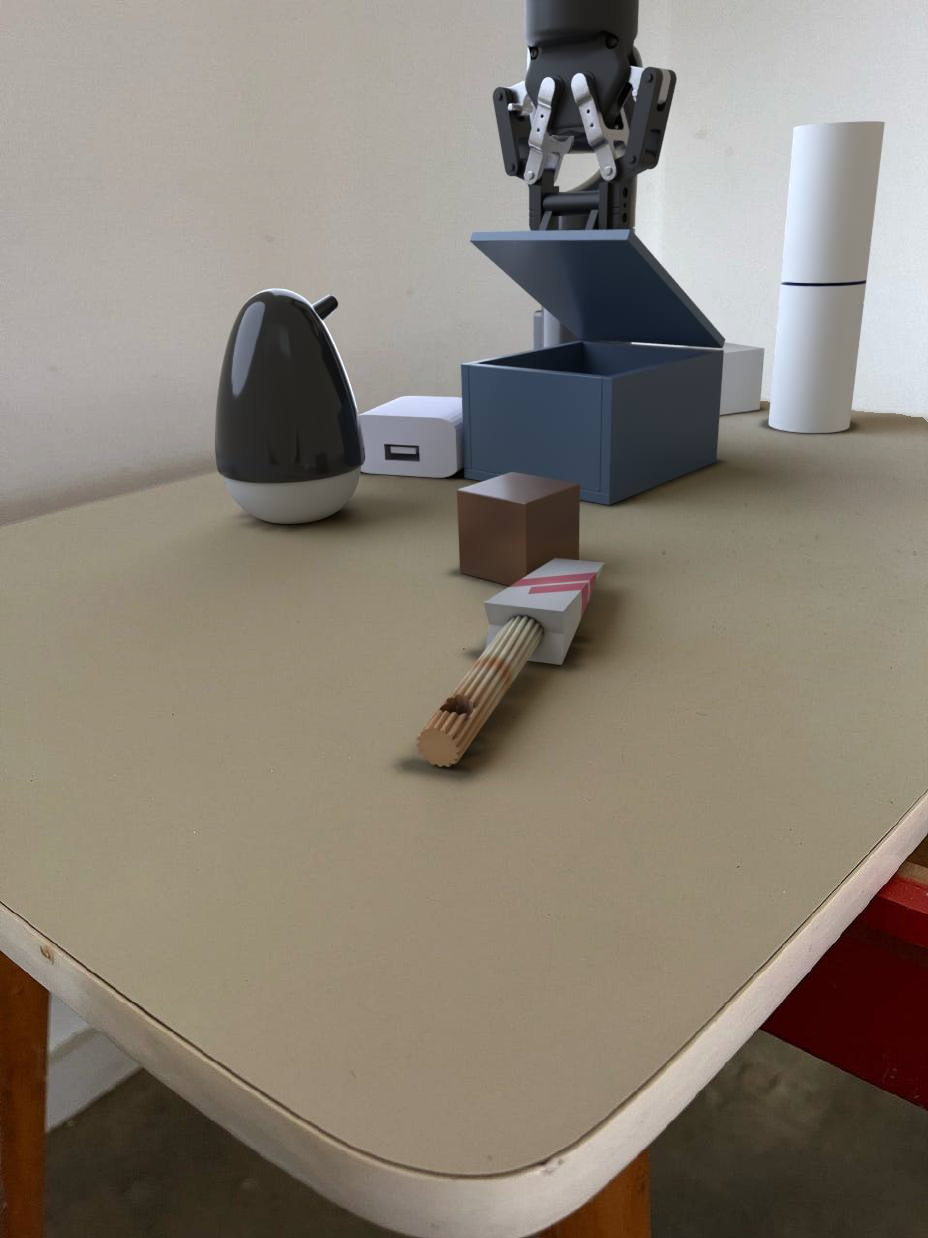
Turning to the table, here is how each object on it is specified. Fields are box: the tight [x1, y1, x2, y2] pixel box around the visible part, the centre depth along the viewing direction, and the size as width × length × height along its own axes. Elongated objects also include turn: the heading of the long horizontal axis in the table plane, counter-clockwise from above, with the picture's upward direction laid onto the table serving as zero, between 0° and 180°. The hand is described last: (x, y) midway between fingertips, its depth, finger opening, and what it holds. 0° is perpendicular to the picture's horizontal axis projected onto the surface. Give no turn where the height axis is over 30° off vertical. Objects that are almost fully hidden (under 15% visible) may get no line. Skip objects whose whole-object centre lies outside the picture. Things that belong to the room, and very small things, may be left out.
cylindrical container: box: [768, 120, 886, 434], centre depth 87 cm, size 7×7×25 cm
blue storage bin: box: [460, 340, 724, 506], centre depth 78 cm, size 16×14×9 cm
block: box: [456, 472, 581, 587], centre depth 57 cm, size 5×5×5 cm
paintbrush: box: [415, 558, 605, 768], centre depth 46 cm, size 4×3×20 cm
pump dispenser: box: [214, 288, 365, 525], centre depth 68 cm, size 10×10×15 cm
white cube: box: [684, 341, 765, 416], centre depth 100 cm, size 6×6×6 cm
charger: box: [358, 395, 464, 479], centre depth 85 cm, size 5×9×15 cm
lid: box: [469, 190, 726, 348], centre depth 75 cm, size 16×14×5 cm
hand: (577, 239), depth 71 cm, fingers closed on lid, 5 cm apart
